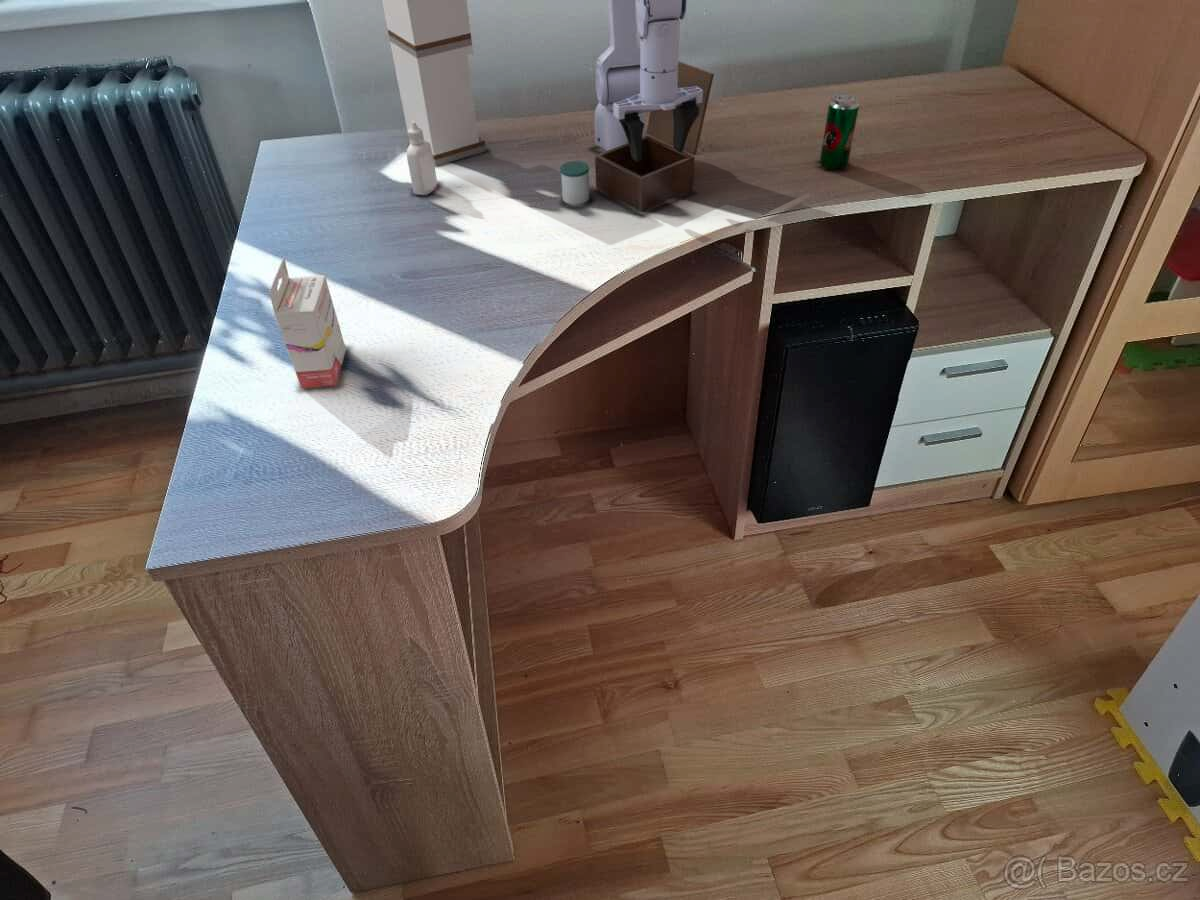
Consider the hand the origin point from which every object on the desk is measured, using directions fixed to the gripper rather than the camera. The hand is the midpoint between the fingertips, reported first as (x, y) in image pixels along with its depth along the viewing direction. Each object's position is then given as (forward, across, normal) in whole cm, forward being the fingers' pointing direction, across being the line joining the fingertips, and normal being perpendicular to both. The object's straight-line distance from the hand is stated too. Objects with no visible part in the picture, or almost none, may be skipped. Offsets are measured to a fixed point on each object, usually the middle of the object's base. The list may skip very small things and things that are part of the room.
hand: (657, 154), depth 132 cm
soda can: (+10, +36, 0) cm, 37 cm away
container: (+9, -11, +8) cm, 17 cm away
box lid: (-4, +8, +8) cm, 12 cm away
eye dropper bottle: (+10, -34, +25) cm, 43 cm away
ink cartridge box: (+10, -59, -20) cm, 63 cm away
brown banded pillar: (+10, -25, +40) cm, 48 cm away
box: (+9, +1, +6) cm, 11 cm away
